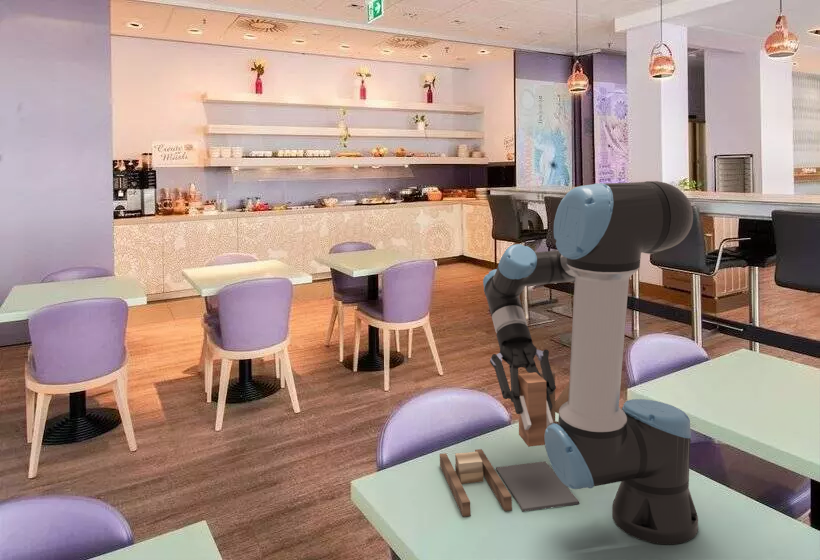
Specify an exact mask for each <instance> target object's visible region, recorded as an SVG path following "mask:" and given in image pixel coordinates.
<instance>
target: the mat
mask: <svg viewBox="0 0 820 560" xmlns="http://www.w3.org/2000/svg"><path fill="white" fill-rule="evenodd" d="M551 467H552V466H550V465H549V464H548V463H547V461H544V460H542V461H538V462H537V461H535V462H530V463H529V462H527V463H518V464H512V465H504V466H496V467H495V471H496V472H497V474H498V476H499V477H500V479H501V480H502V482H503V483H504V485H505V487H506V488H507V490H508V491H509V493H510V494H511V496H512V497H513V499H514V500H515V501H516V504H517V505H518V507H519V508H520V510H521V511H522V512H530V511H537V510H538V511H539V510H545V508H546V509H552V508H551V507H553V508H560V507H567V506H573V505H574V504H575V505H579V504H580V500H579V499H578V498H577V496H575V494H574V493H573V492H572V491H571V490H570V488H569V487H567V486H566V485H564V484H563V483H562V482H561V481H560V479H559V478H558V477H557V475H556V473H555V472H554V470H553V468H551ZM575 505H574V506H575Z"/></svg>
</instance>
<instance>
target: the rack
mask: <svg viewBox="0 0 820 560" xmlns="http://www.w3.org/2000/svg"><path fill="white" fill-rule="evenodd" d="M474 452H478V453H479V456H480V458H481V460H482V465H483V478H484V479H485V481H486V482H487V484H488V486H489V487H490V489H491V491H492V492H493V494H494V496H495V498H496V499H497V501H498V502H499V504H500V506H501V507H502V510H503V511H504V512H509V511H513V498H512V497H513V496H512V494H511V493H510V491H509V489H508V488H507V486H506V485H505V483H504V482H503V480H502V479H501V477H500V475H499V474H498V472H497V471H496V468H494V466H493V465H492V462H490V460H489V459H488V457H487V455H486V454H485V452H484V451H483V449H482V448H479V449H474ZM439 466H440V469H441V471H442V473H443V476H444V478H445V480H446V482H447V484H448V487H449V489H450V491H451V493H452V496H453V497H454V500H455V502H456V504H457V507H458V509H459V511H460V513H461V515H462V517H470V516H472V514H471V513H472V511H471V499H470V498H469V496H468V494H467V492H466V490H465V488H464V487H463V484H461V482H460V480H459V478H458V476H457V474H456V472H455V468H454V466H453V464H452V461H451V460H450V458H449V456H448V453H446V452H445V453H439Z"/></svg>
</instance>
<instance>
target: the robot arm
mask: <svg viewBox="0 0 820 560" xmlns="http://www.w3.org/2000/svg"><path fill="white" fill-rule="evenodd" d="M554 216H555V217H554V220H553V239H554V240H555V241H556V242H555V246H556V250H550V251H535V250H533V249H532V248H531V247H530V246H527V245H523V244H520V243H519V244H518V243H517V244H516V243H515V244H512V245H510V246H509V247H508V248H506V249H505V251H504V253H503V254H502V256H501V257H500V259H499V262H498V265H497V268H495V269H492V270H490V271H488V273H487V274H485V276H484V277H483V279H482V284H483V291H484V292H483V293H484V295H485V297H486V302H487V305H488V309H489V313H490V316H491V320H492V323H493V328H494V331H495V333H496V335H495V336H496V338H497V339H496V341H497V343H498V347H499V352H498V353H497V354H496V353H493V354H492V355H491V357H490V359H489V363H490V364H491V366H492V367H493V368H494V371H495V375H496V378H497V382H498V385H499V388H500V392H501V396H502V398H503V399H504V400H507V399H509V400H510V402H511V403H513V407H514V410H515V413H516V415H519V414H521V417H522V421H523V425H524V429H525V430H529V428H530V426H531V421H530V417H529V414H528V410H527V407H526V403H525V399H524V396H520V397H519V379H518V374H519V368H525V370H526V373H534V372H536V373H537V374H538V375H540V373H541V372H540V371H539V369H538V367H537V365H536V361H535V357H537V360H538V361H539V364H540V369H541V371H542V373H543V377H544V380H545V381H546V406H547V411H546V419H547V428H546V430H545V445H544V446H545V452H546V455H547V458H548V461H549V463H550V465H551V466H550V467H552V468H551V469H552V470H553V471H554V472H555V473H556V475H557V477H558V478H559V479H560V481H561V482H562V483H563V484H564V485H566V486H567V487H568V489H572V490H578V489H579V490H580V489H586V488H588V489H593V488H594V487H599V486H605V485H609V484H615V483H618V482H620V483H619V487H618V489H617V491H616V495H615V497H614V500H613V501H612V506H611V508H612V510H611V512H612V513H611V514H612V516H611V517H612V519H613V522H614V524H615V525H616V526H617V527H618V528H619V529H620V530H621V531H623V532H624V533H625V534H627V535H629V536H631V537H633V538H636V539H639V540H641V541H643V542H648V543H652V544H659V545H678V544H682V543H685V542H688V541H691V540H692V539H694V538H695V537H696V535H697V533H698V530H699V529H698V528H699V527H698V526H699V516H698V513H697V510H696V506H695V504H694V500H693V498H692V494H691V491H690V488H689V487H690V461H691V459H690V458H691V439H692V434H691V420H690V417H689V415H688V414H687V413H686V412H685V411H683V410H682V409H681V408H678V407H676V406H675V405H671V404H668V403H666V402H661V401H657V400H654V399H645V398H644V399H642V398H639V399H638V398H636V399H634V398H633V399H627V400H626V401H625V402H623V406H622V407H620V395H621V382H622V369H623V360H624V359H623V357H624V348H625V347H624V345H625V331H626V319H627V308H628V295H629V294H628V293H629V283H630V278H631V276H632V275H634V274H635V273H637V271H639V270H640V268H641V259H642V258H641V255H642V254H647V255H652V254H656V253H659V252H661V251H662V252H663V251H665V250H668V249H671V248H673V247H675V246H677V245H679V244H680V243H681V242H683V241H684V240H685V238H687V236H688V235H689V233H690V230H691V229H692V227H693V222H694V212H693V207H692V204H691V202H690V199H688V197H687V195H686V194H685V193H684V192H683V191H681V190H680V189H679V187H676V186H674V185H672V184H669V183H667V182H663V181H658V180H655V181H654V180H653V181H652V180H651V181H637V182H636V181H635V182H634V181H633V182H610V183H607V182H604V183H602V182H600V183H597V182H595V183H593V184H592V183H591V184H586V185H585V184H584V185H579V186H576V187H574V188H572V189H570V190H569V191H568V192H567V193H566V194H565V195H564V197H563V198H562V199H561V200H560V203H559V204H558V206H557V209H556V212H555V215H554ZM560 283H574V288H573V290H574V292H573V305H572V306H573V307H572V309H573V310H572V324H571V325H572V328H571V345H570V346H571V347H570V360H569V361H570V365H569V379H568V380H569V381H568V383H569V397H568V401H567V402H566V403H564V404H563V405H562V406H561V407H560V409H559V414H558V421H557V422H558V423H557V424H555V423H553V420H552V416H551V413H550V411H551V409H552V403H551V399H550V396H549V395H550V394H553V392H554V391H555V392H556V388H557V387H556V381H555V382H554V378H553V375H552V371H553V370H552V368H551V365H550V361H549V356H550V351H549V350H548V349H543V350H540V349H537V347H536V346H535V344H534V342H533V337H532V335H531V332H530V328H529V326H528V322H527V318H526V315H525V312H524V309H523V305H522V302H521V299H520V296H521V294H522V293H523V292H524V289H525V287H528V286H540V285H549V284H560ZM503 361H504V362H505V363H506V364H508V365H509V366H508V367H509V375H510V376H509V377H510V385H509V381H508V379H507V374H506V372H505V369H504V365H503ZM551 370H552V371H551ZM540 376H541V375H540Z"/></svg>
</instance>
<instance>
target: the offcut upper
mask: <svg viewBox="0 0 820 560" xmlns="http://www.w3.org/2000/svg"><path fill="white" fill-rule="evenodd" d="M454 454H455V455H454V458H455V464H456V466H457V469H458V472H459V474H469V473H479V472H483V465H482V460H481V458H480V456H479V453H478V452H475V451H469V452H459V453H458V452H457V453H454Z"/></svg>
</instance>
